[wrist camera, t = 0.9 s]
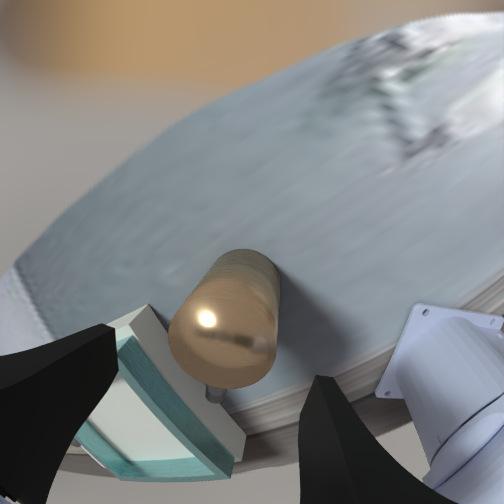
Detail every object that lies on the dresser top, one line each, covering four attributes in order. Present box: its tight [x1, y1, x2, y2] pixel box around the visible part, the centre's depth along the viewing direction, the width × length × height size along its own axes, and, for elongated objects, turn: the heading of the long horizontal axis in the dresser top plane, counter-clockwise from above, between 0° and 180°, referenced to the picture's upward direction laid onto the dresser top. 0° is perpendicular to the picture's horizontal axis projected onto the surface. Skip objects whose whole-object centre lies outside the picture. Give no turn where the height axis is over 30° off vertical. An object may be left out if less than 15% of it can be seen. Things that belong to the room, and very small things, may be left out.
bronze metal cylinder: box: [168, 249, 281, 404], centre depth 15 cm, size 4×6×7 cm
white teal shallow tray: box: [71, 304, 246, 468], centre depth 20 cm, size 18×14×4 cm
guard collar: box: [74, 335, 235, 482], centre depth 18 cm, size 13×13×2 cm
